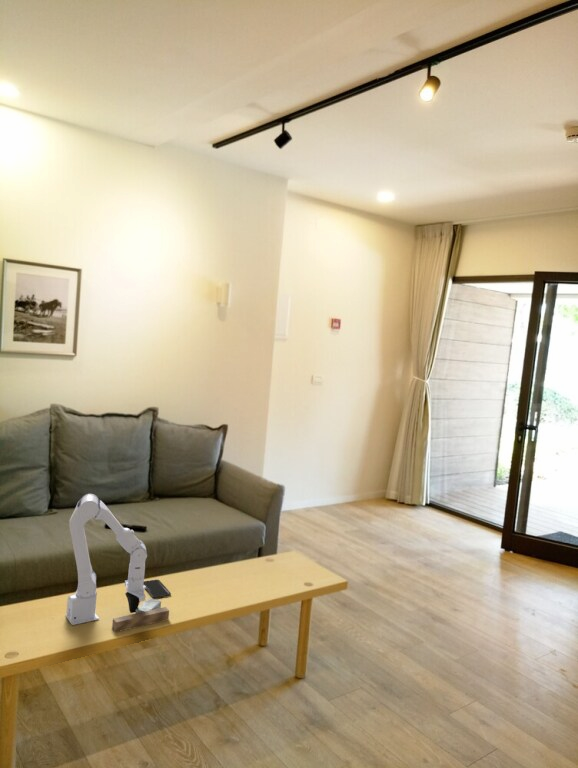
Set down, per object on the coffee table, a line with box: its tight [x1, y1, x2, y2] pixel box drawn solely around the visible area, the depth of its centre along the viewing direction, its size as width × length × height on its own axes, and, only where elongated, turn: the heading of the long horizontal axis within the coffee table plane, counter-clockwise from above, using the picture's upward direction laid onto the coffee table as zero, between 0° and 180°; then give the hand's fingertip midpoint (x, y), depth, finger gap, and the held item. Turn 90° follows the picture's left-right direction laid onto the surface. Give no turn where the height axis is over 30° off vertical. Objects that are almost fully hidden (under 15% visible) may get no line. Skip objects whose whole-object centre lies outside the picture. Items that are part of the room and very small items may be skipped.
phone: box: [143, 579, 172, 600], centre depth 227 cm, size 8×1×15 cm
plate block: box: [134, 597, 162, 614], centre depth 208 cm, size 10×5×3 cm, turn 165°
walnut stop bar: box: [111, 606, 170, 633], centre depth 199 cm, size 20×3×4 cm, turn 128°
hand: (132, 611), depth 205 cm, fingers closed
